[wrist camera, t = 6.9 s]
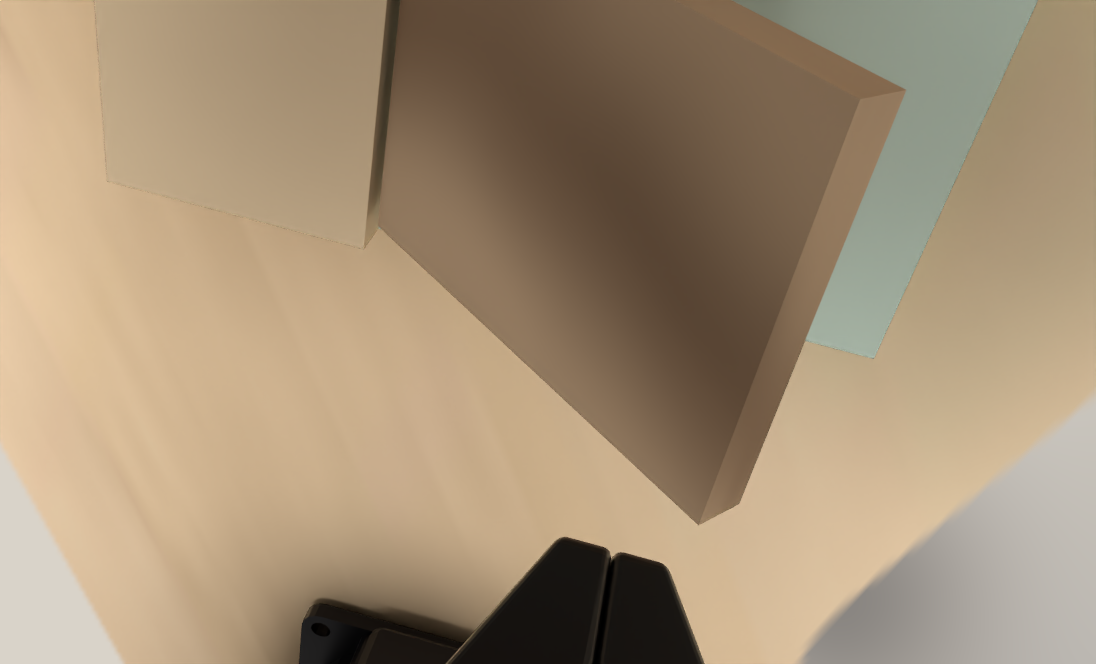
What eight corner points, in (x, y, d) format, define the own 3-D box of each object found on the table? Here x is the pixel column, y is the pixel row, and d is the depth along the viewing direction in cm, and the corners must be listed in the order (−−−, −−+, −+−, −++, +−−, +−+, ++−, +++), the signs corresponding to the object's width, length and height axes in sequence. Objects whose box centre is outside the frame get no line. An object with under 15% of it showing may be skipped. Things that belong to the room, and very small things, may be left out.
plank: (739, 503, 14) (698, 525, 14) (416, 216, 19) (377, 225, 18) (906, 90, 11) (859, 100, 10) (461, -139, 15) (414, -139, 15)
